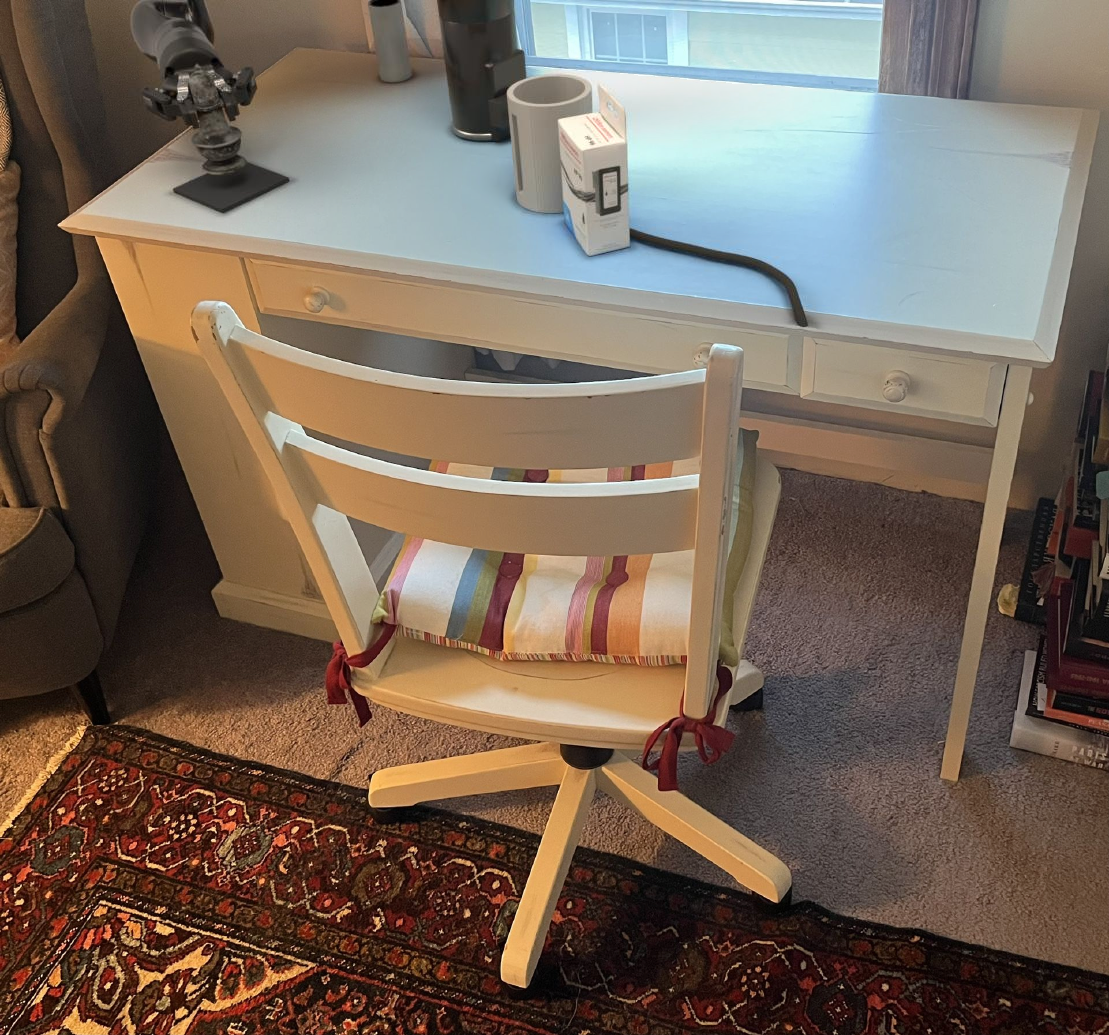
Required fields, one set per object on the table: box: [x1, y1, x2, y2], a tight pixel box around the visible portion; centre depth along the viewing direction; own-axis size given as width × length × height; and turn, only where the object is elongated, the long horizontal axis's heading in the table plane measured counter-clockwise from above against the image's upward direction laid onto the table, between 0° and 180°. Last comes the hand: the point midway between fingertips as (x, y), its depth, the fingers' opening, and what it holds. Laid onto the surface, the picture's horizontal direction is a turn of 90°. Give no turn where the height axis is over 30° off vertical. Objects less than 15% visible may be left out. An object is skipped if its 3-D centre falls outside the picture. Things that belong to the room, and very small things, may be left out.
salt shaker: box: [189, 64, 248, 175], centre depth 127 cm, size 6×6×12 cm
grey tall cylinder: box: [367, 0, 413, 83], centre depth 153 cm, size 4×4×10 cm
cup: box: [507, 73, 594, 214], centre depth 121 cm, size 9×9×12 cm
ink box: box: [558, 82, 631, 257], centre depth 112 cm, size 8×5×15 cm, turn 18°
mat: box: [172, 161, 290, 214], centre depth 132 cm, size 10×10×1 cm
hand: (212, 116), depth 124 cm, fingers closed on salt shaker, 3 cm apart
